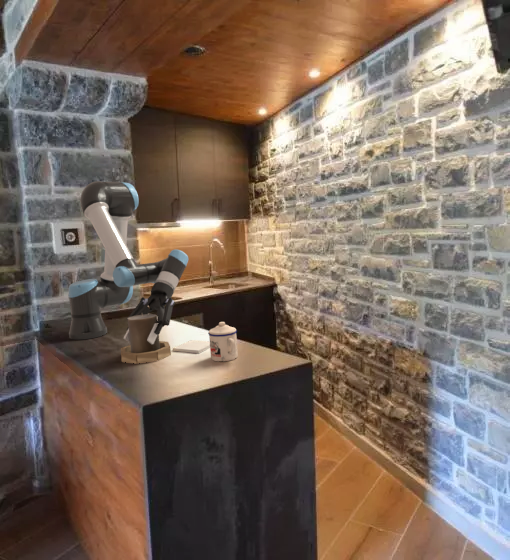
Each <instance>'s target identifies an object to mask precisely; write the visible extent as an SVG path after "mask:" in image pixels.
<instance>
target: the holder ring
mask: <svg viewBox="0 0 510 560" xmlns="http://www.w3.org/2000/svg"><path fill="white" fill-rule="evenodd" d="M159 342H160V349H158V350H156V351H151V352H144V353H131V346H130V344H129V345H126V346H123V347H120V359H121V362H122V363H125V362H126V363H125V364H133V363H134V365H135V364H136V365H138V364H139V363H140V364H146V362H147V363H153V362H158V361H161V360H164V359H165V358H168V357H170V356H171V355H172V353H171V345H170V342H169V341H163V340H162V341H161V340H159ZM157 360H158V361H157Z"/></svg>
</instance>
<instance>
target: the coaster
mask: <svg viewBox="0 0 510 560" xmlns="http://www.w3.org/2000/svg"><path fill="white" fill-rule="evenodd" d="M208 349H209V350H210V340H209V341H207V340H196V339H194V340H193V339H190V340H188V341H186V342H184V343H181V344H179V345H177V346H176V345H175V347H172V351H173V352H179V353H181V352H182V353H191V354H200V353H202V352H205V351H207V350H208Z"/></svg>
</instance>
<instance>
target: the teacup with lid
mask: <svg viewBox="0 0 510 560" xmlns="http://www.w3.org/2000/svg"><path fill="white" fill-rule="evenodd" d="M237 332H238V330H237V329H236V327H234V326H233V327H232V326H229V325H228V324H226V322H225V321H220V322H219V323H218V325H216V326H215V327H213V328H210V329H209V331H208V335H209V341H210V348H209V350H210V359H211V360H212V361H215V362H219V361H223V362H229V361H233V360H236V359H237V358H238V357H239V354H238V340H237V339H238V338H237ZM235 358H236V359H235Z"/></svg>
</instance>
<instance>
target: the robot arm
mask: <svg viewBox="0 0 510 560" xmlns="http://www.w3.org/2000/svg"><path fill="white" fill-rule="evenodd" d="M79 200H80V203H79V204H80V208H81V211H82V213H83V215H84V216H85V217H84V218H86V219H88V220H89V221H90V222H91V224H92V226H93V228H94V230H95V232H96V234H97V236H98V238H99V240H100V241H101V244H102V245H103V247H104V266H103V267H104V271H103V272H102V273H101V274H100V279H99V280H98V279H97V278H88V279H82V280H78V281H75V282H73V283H71V284H69V285H68V300H69V307H70V316H71V321H70V327H69V331H68V336H69V337H68V338H69V339H70V340H75V341H76V340H87V339H93V338H94V339H95V338H99V337H102V335H103V336H105V335H107V334H108V327H107V325H106V324H105V322H104V319H103V317H102V312H101V309H104V308H108V307H112V306H113V307H114V306H120V305H123V304H126V303H128V302H129V301H131V298H132V297H133V294H134V286H139V285H147V284H153V285H152V287H151V290H150V296H148V298H145V297H143V296H142V297H141V298H140V301H139V302H138V304H137V305H136V306H135V308H134V309H133V310H132V312H131V313H130V314H129V315H128V317H127V318H129V317H132V316H136V315H142V314H150V313H152V312H153V311H155V310H156V311H157V312H156V315H157V321H156V322H157V323H158V324H157V323H155V324H154V326H153V328H152V330H151V333H150V335H149V337H148V339H147V341H148V342H149V343H151V344H154V342H155V339H156V337H157V335H159V336H160V334H161V332H162V329H163V328H164V327H165V326H166V327H168V326H170V322H171V318H172V313H173V307H174V306H175V304H176V301H175V300H173V298H172V297H173V295H174V293H175V290H176V288H177V286H178V284H179V282H180V280H181V278H182V277H183V276H182V275H183V273H184V271H185V270H186V268H187V265H188V262H189V256H188V254H187V253H185V252H184V251H183V250H180V249H172V250H170V252H169V253H168V256H167V257H166V258H164V259H162V260H159V261H156V262H148V263H137V262H136V260H135V259H134V257H133V254H132V253H131V251H130V249H129V248H128V245H127V241H128V240H127V239H128V223H129V221H128V220H129V219H130V218H131V217H132V215H133V212H134V211H135V210H137V208H138V207H139V203H140V202H139V195H138V192H137V190H136V187H134V185H133V184H131V183H129V182H123V181H101V180H97V181H93V182H90V183H89V184H87V185H86V186H85V187H84V188H83V189H82V192H81V195H80V199H79ZM127 318H126V319H127ZM127 321H128V319H127ZM125 332H126V333H125V334H124V336H123V340H125V341H126V342H127V343H130V337H129V326H127V328H126V331H125ZM106 333H107V334H106Z"/></svg>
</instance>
